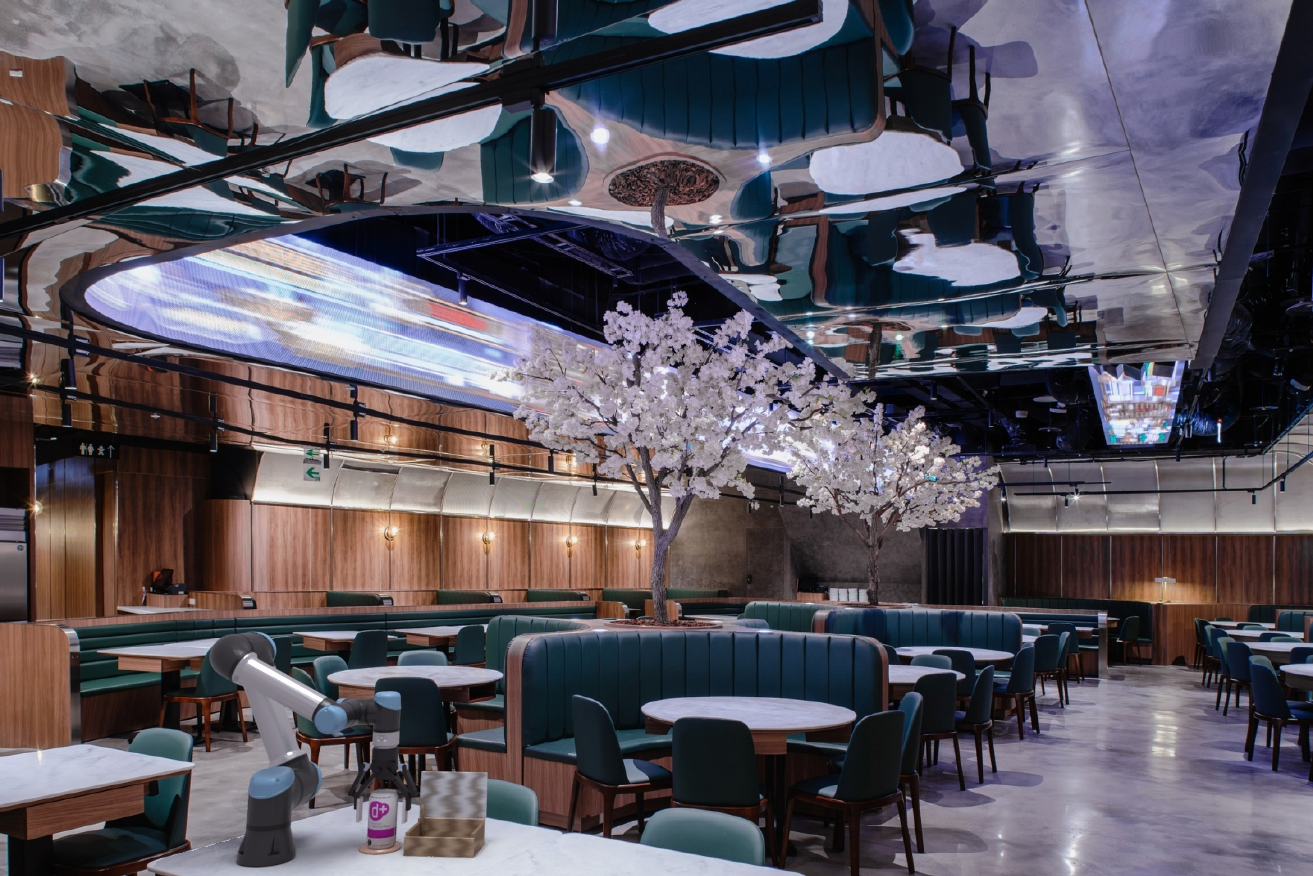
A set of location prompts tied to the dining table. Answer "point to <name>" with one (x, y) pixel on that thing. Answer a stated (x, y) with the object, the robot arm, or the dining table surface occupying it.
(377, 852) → the saucer
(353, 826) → the dining table surface
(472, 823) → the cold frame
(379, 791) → the supplement can
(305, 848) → the dining table surface
